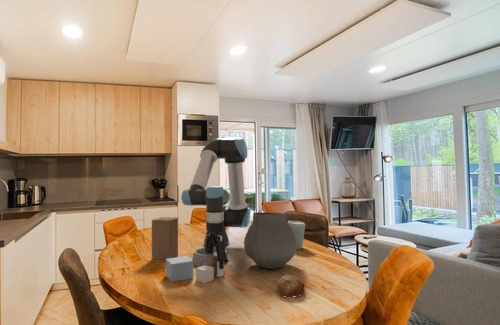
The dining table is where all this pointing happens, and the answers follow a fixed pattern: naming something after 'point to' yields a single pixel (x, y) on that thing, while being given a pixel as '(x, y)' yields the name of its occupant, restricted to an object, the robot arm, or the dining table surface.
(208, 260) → the walnut block
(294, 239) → the ceramic pot
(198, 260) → the dog bowl
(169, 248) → the wooden block
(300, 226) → the disposable coffee cup
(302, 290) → the bread roll
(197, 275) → the grey cube
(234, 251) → the dining table surface
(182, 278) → the slate block
